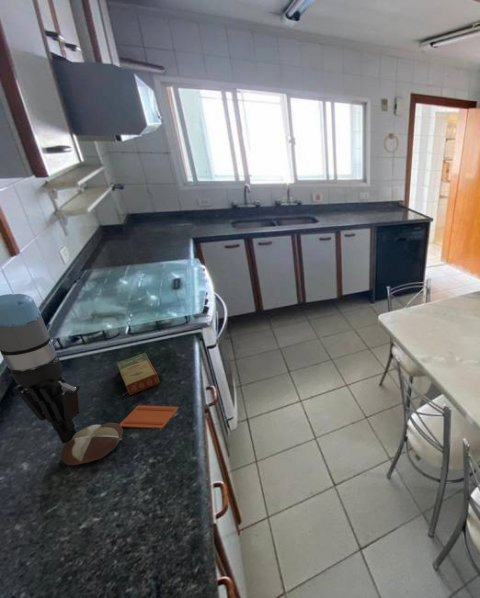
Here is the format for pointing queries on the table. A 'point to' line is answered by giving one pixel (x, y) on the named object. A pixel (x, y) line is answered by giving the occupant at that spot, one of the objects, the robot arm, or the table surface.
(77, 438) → the bread
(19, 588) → the table surface
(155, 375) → the carton
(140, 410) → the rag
